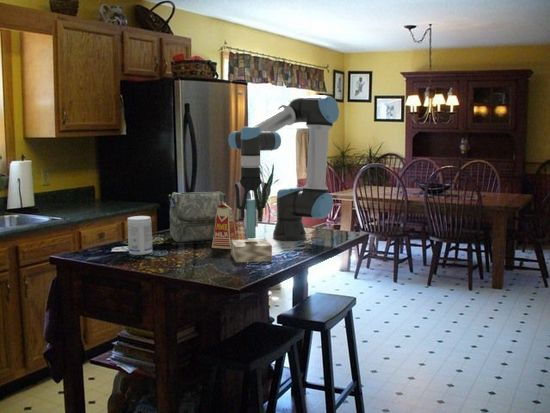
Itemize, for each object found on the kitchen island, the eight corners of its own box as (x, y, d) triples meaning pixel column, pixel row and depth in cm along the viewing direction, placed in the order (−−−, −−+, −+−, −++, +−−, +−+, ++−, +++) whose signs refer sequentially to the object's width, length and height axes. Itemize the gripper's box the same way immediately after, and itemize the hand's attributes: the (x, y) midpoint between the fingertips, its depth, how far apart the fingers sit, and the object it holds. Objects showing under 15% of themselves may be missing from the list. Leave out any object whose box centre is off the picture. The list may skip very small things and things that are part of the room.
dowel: (254, 236, 246) (254, 199, 244) (256, 238, 242) (256, 200, 240) (245, 236, 245) (245, 199, 243) (246, 238, 242) (246, 200, 240)
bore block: (265, 253, 253) (265, 238, 252) (271, 260, 240) (271, 245, 239) (231, 254, 250) (231, 240, 250) (235, 262, 237) (235, 246, 236)
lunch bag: (172, 243, 273) (171, 194, 270) (166, 236, 290) (165, 190, 287) (229, 240, 281) (229, 192, 278) (220, 233, 298) (219, 188, 295)
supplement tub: (149, 249, 260) (148, 215, 258) (155, 254, 252) (154, 218, 250) (126, 251, 256) (124, 216, 254) (131, 256, 248) (130, 220, 246)
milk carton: (232, 248, 262) (231, 202, 259) (211, 248, 264) (210, 201, 261) (237, 244, 271) (237, 199, 268) (217, 243, 273) (216, 198, 270)
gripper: (270, 165, 245) (270, 224, 248) (227, 166, 242) (228, 225, 245) (273, 167, 238) (273, 227, 241) (230, 167, 235) (230, 228, 238)
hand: (250, 226), depth 243 cm, fingers closed on dowel, 4 cm apart
